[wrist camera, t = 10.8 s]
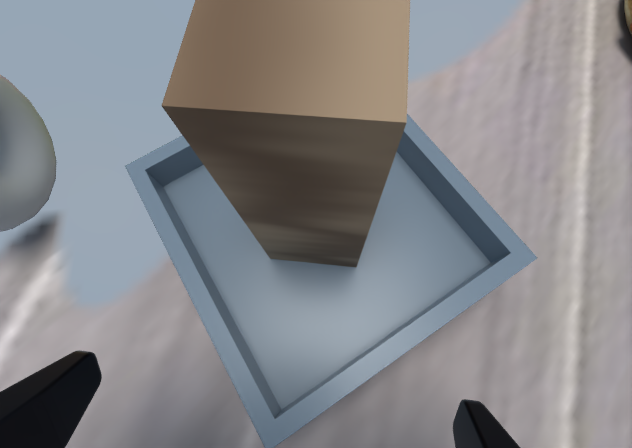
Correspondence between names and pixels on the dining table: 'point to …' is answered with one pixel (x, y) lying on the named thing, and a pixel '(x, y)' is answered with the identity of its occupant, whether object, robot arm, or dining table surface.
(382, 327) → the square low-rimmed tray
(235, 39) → the block
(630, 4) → the toy sandwich meal
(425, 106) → the dining table surface
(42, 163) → the donut
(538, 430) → the dining table surface
